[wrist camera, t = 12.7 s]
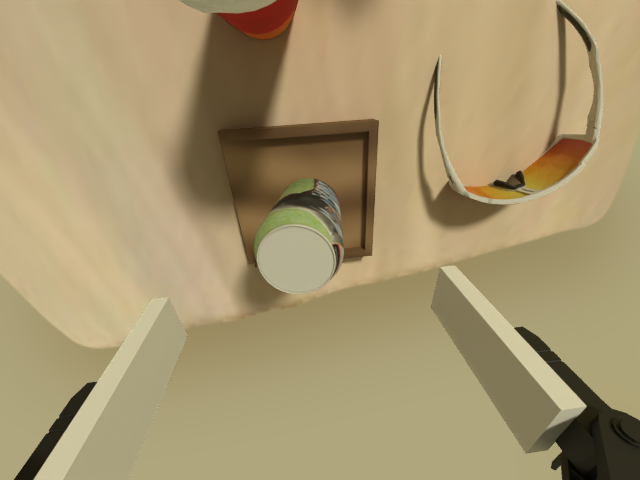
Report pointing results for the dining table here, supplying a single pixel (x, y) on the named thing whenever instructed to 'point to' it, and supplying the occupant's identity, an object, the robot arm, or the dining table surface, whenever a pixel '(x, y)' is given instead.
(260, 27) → the paper cup
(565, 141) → the sunglasses
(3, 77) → the dining table surface
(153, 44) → the dining table surface
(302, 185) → the beverage can
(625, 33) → the dining table surface
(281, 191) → the far tray
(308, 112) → the dining table surface
